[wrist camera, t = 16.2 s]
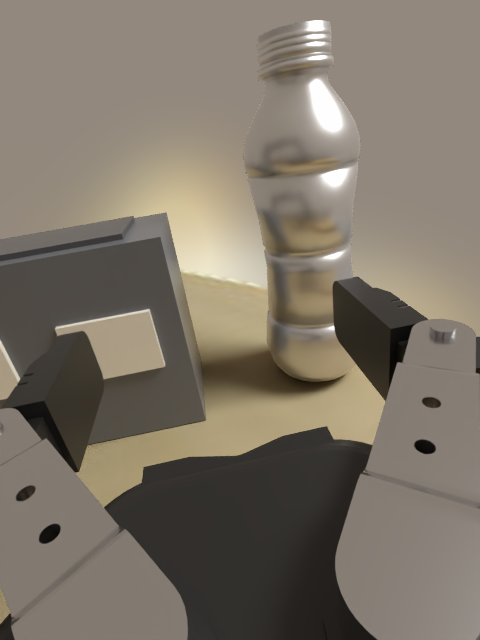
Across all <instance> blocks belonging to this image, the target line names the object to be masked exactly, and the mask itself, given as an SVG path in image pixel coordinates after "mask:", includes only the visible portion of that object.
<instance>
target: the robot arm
mask: <svg viewBox="0 0 480 640" xmlns="http://www.w3.org/2000/svg"><path fill="white" fill-rule="evenodd" d="M332 293H333V317H334V329H335V334H336V337H337V339H338V341H339V343H340V344H341V345H342V347H343V348H344V349H345V350H346V352H347V353H348V354H349V356H350V357H351V358H352V359H353V361H354V362H355V363H356V364H357V366H358V367H359V368H360V369H361V371H362V372H363V373H364V374H365V376H366V377H367V378H368V379H369V381H370V382H371V383H372V385H373V386H374V387H375V388H376V390H377V391H378V392H379V393H380V395H381V396H382V397H383V398H384V400H385V401H386V402H385V405H384V409H383V412H382V416H381V419H380V422H379V426H378V429H377V432H376V436H375V439H374V443H373V445H370V444H366V443H363V442H357V441H351V440H334V439H333V438H332V436H331V434H330V432H329V430H328V428H327V426H326V427H321V428H317V429H312V430H308V431H303V432H299V433H294V434H290V435H285V436H282V437H280V438H277V439H275V440H273V441H271V442H269V443H266V444H264V445H262V446H260V447H257V448H255V449H253V450H251V451H249V452H246V453H244V454H242V455H238V456H213V457H187V458H183V459H178V460H174V461H169V462H165V463H160V464H156V465H151V466H147V467H144V469H143V478H142V483H141V484H139V485H137V486H135V487H133V488H131V489H129V490H127V491H126V492H124V493H123V494H121V495H120V496H118V497H117V498H115V499H114V500H113V501H111V502H110V503H109V504H108V505H107V506H105V507H104V508H103V506H102V505H101V504H100V503H99V501H98V500H97V499H96V498H95V497H94V495H93V494H92V493H91V492H90V490H89V489H88V488H87V487H86V486H85V484H84V483H83V482H82V481H81V480H80V478H79V477H78V476H77V475H76V473H75V472H79V470H80V467H81V464H82V460H83V457H84V454H85V451H86V447H87V444H88V441H89V437H90V434H91V431H92V428H93V424H94V421H95V418H96V415H97V411H98V408H99V405H100V401H101V398H102V395H103V391H104V380H103V375H102V372H101V369H100V366H99V364H98V361H97V359H96V356H95V353H94V351H93V348H92V346H91V343H90V340H89V338H88V336H87V334H86V333H85V332H84V331H79V332H74V333H69V334H64V335H59V336H57V337H56V339H55V340H54V342H53V343H52V345H51V347H50V348H49V350H48V351H47V353H46V354H43V355H41V356H40V357H39V358H38V359H36V360H35V361H34V362H33V363H32V364H30V366H29V367H28V369H27V370H26V371H25V373H24V374H23V377H21V379H20V380H19V382H18V383H17V386H15V388H14V389H13V391H12V392H11V394H10V395H9V397H8V398H7V400H6V401H5V403H4V404H3V406H2V407H1V409H0V587H1V590H2V592H3V595H4V597H5V600H6V602H7V605H8V608H9V610H10V614H9V615H8V616H7V617H6V618H5V620H4V621H3V622H2V623H1V624H0V640H480V337H476V334H475V332H474V330H473V329H472V328H470V327H469V326H467V325H465V324H463V323H460V322H456V321H452V320H445V319H431V320H428V319H427V318H426V317H424V316H423V315H421V314H420V313H419V312H417V311H416V310H414V309H413V308H412V307H410V306H408V305H407V304H406V303H405V302H403V301H400V299H399V298H398V297H396V296H395V295H393V294H392V293H391V292H388V291H385V290H382V289H378V288H372V287H370V286H369V285H368V284H367V283H365V282H364V281H363V280H362V279H360V278H359V277H353V278H348V279H343V280H338V281H334V283H333V287H332Z"/></svg>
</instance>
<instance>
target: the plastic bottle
mask: <svg viewBox="0 0 480 640" xmlns="http://www.w3.org/2000/svg"><path fill="white" fill-rule="evenodd" d="M257 42H258V43H257V50H258V61H259V71H258V81H259V82H264V84H265V92H264V97H263V99H262V101H261V103H260V105H259V107H258V109H257V112H256V114H255V116H254V118H253V120H252V123H251V125H250V128H249V131H248V133H247V136H246V138H245V144H244V153H243V160H244V165H245V169H246V174H248V177H249V178H248V182H249V185H250V189H251V193H252V196H253V200H254V204H255V207H256V211H257V215H258V219H259V224H260V229H261V235H262V240H263V245H264V246H265V258H266V263H267V279H268V305H269V310H268V316H267V343H268V346H269V349H270V352H271V355H272V358H273V360H274V362H275V363H276V364H277V365H278V366H279V367H280V368H281V369H282V370H283V371H284V372H285V373H286V374H288V375H289V376H291V377H293V378H296V379H299V380H303V381H310V382H322V381H329V380H333V379H336V378H339V377H341V376H343V375H345V374H346V373H347V372H348V371H349V370H350V369H351V368H352V367H353V366H354V365H355V364H356V363H355V362H354V361H353V359H352V358H351V357H350V356H349V354H348V353H347V352H346V350H345V349H344V348H343V347H342V345H341V344H340V343H339V341H338V339H337V337H336V334H335V329H334V317H333V293H332V287H333V283H334V281H338V280H343V279H348V278H353V272H352V263H351V248H352V247H351V246H352V244H351V242H350V239H351V237H352V219H353V205H354V196H355V189H356V180H357V172H358V159H359V157H360V137H359V133H358V130H357V126H356V123H355V121H354V119H353V117H352V116H351V114H350V112H349V111H348V109H347V107H346V106H345V104H344V103H343V101H342V100H341V99H340V97H339V96H338V95H337V93H336V92H335V91H334V89H333V88H332V87H331V85H330V84H329V80H328V70H330V69H332V68H333V67H334V57H333V56H332V55H331V28H330V23H329V22H328V21H307V22H301V23H295V24H291V25H287V26H283V27H279V28H276V29H273V30H271V31H268V32H266V33H264V34H262V35H261V36H259V37H258V39H257Z"/></svg>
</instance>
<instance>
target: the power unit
mask: <svg viewBox="0 0 480 640" xmlns="http://www.w3.org/2000/svg"><path fill="white" fill-rule="evenodd" d="M79 331H84V332H85V333H86V334H87V336H88V338H89V340H90V343H91V346H92V348H93V351H94V353H95V356H96V359H97V361H98V364H99V366H100V369H101V372H102V375H103V380H104V391H103V395H102V398H101V401H100V405H99V408H98V411H97V415H96V418H95V421H94V424H93V428H92V431H91V434H90V437H89V441H88V444H87V445H89V444H94V443H99V442H104V441H108V440H113V439H118V438H123V437H128V436H132V435H137V434H142V433H147V432H151V431H156V430H161V429H166V428H171V427H175V426H180V425H185V424H190V423H194V422H199V421H204V420H206V417H205V404H204V391H203V378H202V365H201V359H200V354H199V350H198V346H197V342H196V337H195V333H194V329H193V324H192V320H191V316H190V312H189V307H188V303H187V299H186V294H185V290H184V286H183V282H182V277H181V273H180V269H179V264H178V260H177V256H176V252H175V247H174V243H173V239H172V235H171V230H170V226H169V222H168V217H167V213H161V214H155V215H150V216H144V217H138V218H134V217H133V216H131V217H125V218H119V219H114V220H109V221H103V222H97V223H91V224H86V225H80V226H74V227H69V228H63V229H58V230H52V231H46V232H40V233H35V234H29V235H23V236H18V237H12V238H6V239H1V240H0V409H1V407H2V406H3V404H4V403H5V401H6V400H7V398H8V397H9V395H10V394H11V392H12V391H13V389H14V388H15V386H17V383H18V382H19V380H20V379H21V377H23V374H24V373H25V371H26V370H27V369H28V367H29V366H30V364H32V363H33V362H34V361H35V360H36V359H38V358H39V357H40V356H41V355H43V354H46V353H47V351H48V350H49V348H50V347H51V345H52V343H53V342H54V340H55V339H56V337H57V336H59V335H64V334H69V333H74V332H79Z"/></svg>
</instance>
